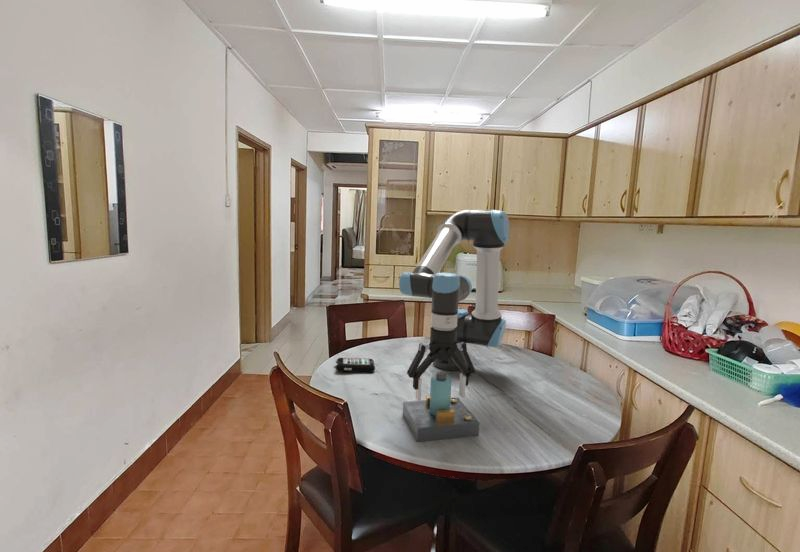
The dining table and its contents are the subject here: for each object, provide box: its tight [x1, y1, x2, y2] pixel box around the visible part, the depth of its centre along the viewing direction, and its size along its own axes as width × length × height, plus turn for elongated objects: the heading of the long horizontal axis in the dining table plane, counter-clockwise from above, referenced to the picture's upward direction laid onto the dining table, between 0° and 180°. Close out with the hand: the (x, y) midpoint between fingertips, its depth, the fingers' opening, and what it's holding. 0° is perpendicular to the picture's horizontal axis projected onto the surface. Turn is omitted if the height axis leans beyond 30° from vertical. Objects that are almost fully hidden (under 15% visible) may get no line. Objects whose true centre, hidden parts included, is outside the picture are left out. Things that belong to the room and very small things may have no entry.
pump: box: [429, 371, 453, 416], centre depth 118 cm, size 6×6×12 cm
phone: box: [335, 357, 376, 373], centre depth 161 cm, size 11×15×4 cm
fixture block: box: [402, 395, 480, 443], centre depth 119 cm, size 18×16×6 cm
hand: (440, 397), depth 118 cm, fingers open, 13 cm apart
